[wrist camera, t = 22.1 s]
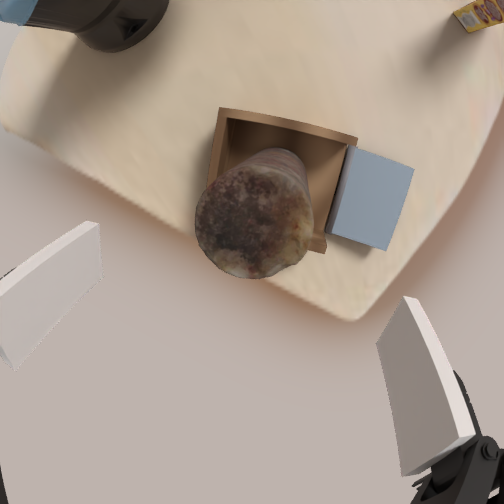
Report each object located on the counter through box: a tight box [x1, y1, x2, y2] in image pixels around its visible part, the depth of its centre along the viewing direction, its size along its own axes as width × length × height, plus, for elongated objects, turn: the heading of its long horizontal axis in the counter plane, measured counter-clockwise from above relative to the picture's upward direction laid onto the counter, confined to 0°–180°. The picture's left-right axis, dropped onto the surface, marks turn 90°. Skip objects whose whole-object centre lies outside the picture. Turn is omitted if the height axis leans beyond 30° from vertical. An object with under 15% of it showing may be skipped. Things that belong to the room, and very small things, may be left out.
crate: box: [206, 107, 358, 254], centre depth 32 cm, size 15×14×6 cm
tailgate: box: [325, 145, 414, 251], centre depth 32 cm, size 1×12×9 cm
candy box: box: [453, 0, 504, 33], centre depth 10 cm, size 9×4×15 cm, turn 133°
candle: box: [195, 147, 314, 279], centre depth 25 cm, size 8×7×20 cm
